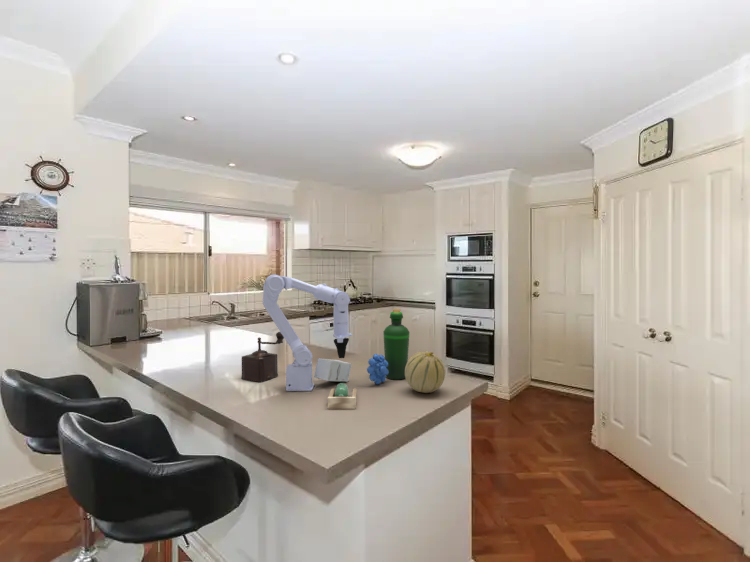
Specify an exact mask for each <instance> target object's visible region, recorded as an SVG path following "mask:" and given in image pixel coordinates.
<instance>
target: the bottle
mask: <svg viewBox="0 0 750 562" xmlns="http://www.w3.org/2000/svg"><path fill="white" fill-rule="evenodd" d="M389 314H390V315H389V319H390V320H391V324H389V325H388V326H386V327H385V328H384V330H383V350H384V357H385V360H386V361H387V362H388V367H386V368H387V369H388V371H389V373H388V375H385V377H386V379H389V380H393V381H398V380H404V379H406V378H405V367H406V364H407V362H408V360H409V347H410V331H409V329H408V328H407V327H406V326H405V325H403V324H402V322H403V321H402V320H403V319H404V316H403V315H404V314H403V312H402V311H401V308H392V312H390V313H389Z"/></svg>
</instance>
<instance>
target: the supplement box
mask: <svg viewBox="0 0 750 562" xmlns="http://www.w3.org/2000/svg"><path fill="white" fill-rule="evenodd" d="M351 368H352V363H350V362H347V361H342V360H339V359H332V358H331V359H330V358H329V359H328V358H320V357H318V358H317V361H316V365H315V371H314V375H313V377H314V378H316V379H320V380H323V381H327V382H343V383H345V382H347V383H348V382H349V378H350V372H351Z"/></svg>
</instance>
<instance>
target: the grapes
mask: <svg viewBox="0 0 750 562" xmlns="http://www.w3.org/2000/svg"><path fill="white" fill-rule="evenodd" d="M367 364H368V365H369V366H367V368H366V372H367V373H368V374H369V375H368V379H369V380H370V381H371V382H374V384H376V385H379V384H381V383H384V382H386V380H387V377H386V375H388V373H389V371H388V369H387V368H386V367H388V362H387V361H386V360H385V355H384V354H378V353H373V355H372V358H368V363H367Z"/></svg>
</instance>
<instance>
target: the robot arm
mask: <svg viewBox="0 0 750 562" xmlns="http://www.w3.org/2000/svg"><path fill="white" fill-rule="evenodd" d="M262 287H263V290H262V305H263V307H264V309H265V311H266V313H268V315H269V316H270V318H271V319H272V321H273V323H274V324H275V326H276V328H277V329H278V332H281V334H282V335H283V337H284V340H285V341H286V343H287V344H288V346H289V348H290V349H291V351H292V357H293V358H294V359H293V361H292V364H291V363H290V364H287V366H286V371H285V384H286V385H285V391H286V392H288V391H289V392H292V391H293V392H295V391H296V392H299V391H300V392H302V391H304V392H305V391H307V392H309V391H310V392H311V391H313V389H314V386H315V383H314V382H313V362H312V361H313V353H312V351H311V350H310V348H309V346H307V345H306V344H304V343H303V342H302V341H301V339H300V337H299V336H298V334H297V333H296V331H295V330H294V328H293V326H292V324H291V323H290V321H289V320H288V319H287V317H286V315H285V314H284V312H283V310H282V309H281V307H280V306H279V304H278V299H279V297H280V294H281V292H282V291H283V290H284V289H285V290H288V289H295V290H299V291H302V292H306V293H310V294H311V295H313V297H314V299H316V300H319V301H322V302H326V303H328V304H333V313H332V314H333V333H332V334H333V335H332V336H333V337H334V338H335V339H333V343H334V346H335V347H336V351H337V356H338V358H339V359H345V356H346V352H347V351H346V350H347V345H348V343H349V341H350V338H349V337H351V336H353V334H352V333H351V332H350V331H349V330H350V329H349V328H350V326H349V325H350V324H349V322H350V320H349V319H350V318H349V316H350V315H349V305H350V302H351V298H350V296H349V294H348V293H347V292H345V291H342V290H339V288H337V287H335V288H333V287H332V286H331V287H330V286H328V285H327V283H324V282H323V283H319V284H317V285H313V284H310V283H307V282H305V281H302V280H300V279H297V278H294V277H289V276H284V275H279V274H275V273H274V274H270V275H267V277H266V278H265V281H264V283H263V286H262Z"/></svg>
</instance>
